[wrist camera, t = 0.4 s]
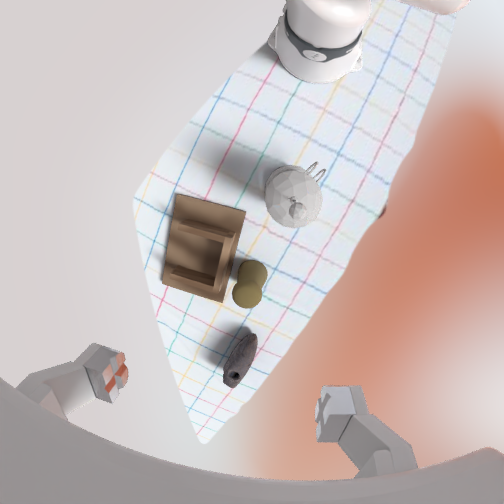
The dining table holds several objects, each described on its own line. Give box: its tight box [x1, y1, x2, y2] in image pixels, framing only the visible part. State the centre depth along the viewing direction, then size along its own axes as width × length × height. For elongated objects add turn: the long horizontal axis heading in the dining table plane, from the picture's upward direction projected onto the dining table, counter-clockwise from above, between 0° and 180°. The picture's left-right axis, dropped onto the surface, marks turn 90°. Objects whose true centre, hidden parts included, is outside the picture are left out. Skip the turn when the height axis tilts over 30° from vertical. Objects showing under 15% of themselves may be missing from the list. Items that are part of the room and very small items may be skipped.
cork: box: [232, 260, 267, 308], centre depth 52 cm, size 6×6×11 cm
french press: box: [265, 162, 326, 228], centre depth 39 cm, size 10×12×25 cm
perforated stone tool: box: [223, 334, 258, 388], centre depth 60 cm, size 15×5×7 cm, turn 154°
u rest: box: [162, 194, 246, 303], centre depth 54 cm, size 20×14×6 cm
